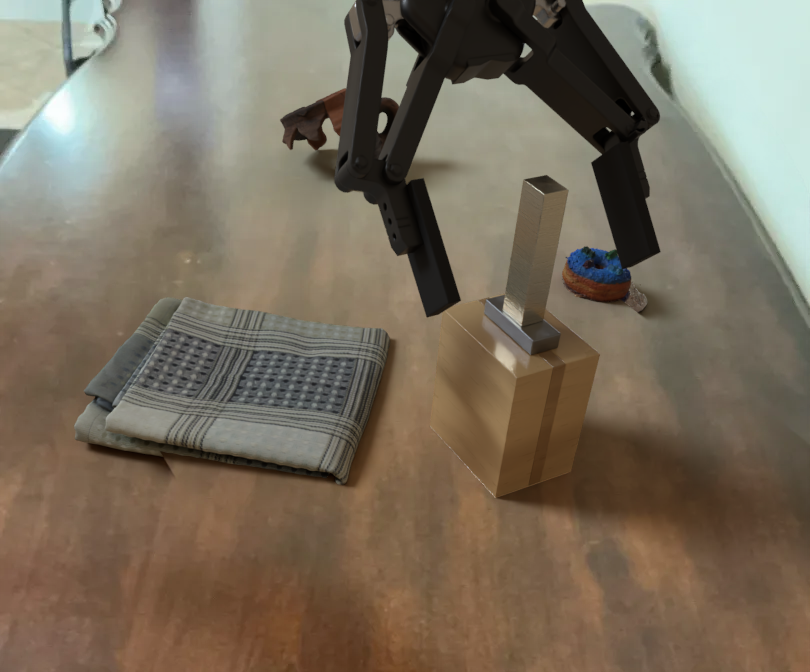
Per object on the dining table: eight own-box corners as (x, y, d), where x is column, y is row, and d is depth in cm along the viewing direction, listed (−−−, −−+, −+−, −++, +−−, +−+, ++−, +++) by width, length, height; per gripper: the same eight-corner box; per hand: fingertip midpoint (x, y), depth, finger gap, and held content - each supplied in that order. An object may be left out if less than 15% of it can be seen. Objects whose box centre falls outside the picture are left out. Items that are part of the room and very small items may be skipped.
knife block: (568, 482, 64) (601, 353, 57) (493, 509, 61) (517, 378, 54) (500, 415, 68) (522, 288, 62) (428, 437, 66) (442, 308, 59)
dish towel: (395, 346, 74) (398, 309, 71) (345, 500, 61) (346, 460, 59) (159, 310, 75) (154, 272, 73) (61, 452, 62) (52, 412, 60)
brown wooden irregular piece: (325, 204, 91) (287, 115, 87) (295, 207, 99) (259, 125, 96) (432, 152, 93) (400, 63, 90) (394, 158, 102) (363, 77, 98)
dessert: (530, 285, 80) (569, 219, 79) (557, 303, 86) (595, 242, 84) (608, 332, 77) (650, 264, 75) (631, 347, 83) (671, 285, 81)
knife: (534, 463, 63) (589, 201, 51) (508, 472, 62) (558, 207, 50) (491, 420, 66) (534, 162, 54) (466, 428, 65) (504, 168, 53)
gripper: (577, -66, 61) (672, 263, 63) (200, -40, 51) (324, 350, 53) (653, -150, 54) (758, 221, 56) (235, -140, 44) (375, 312, 46)
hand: (547, 284), depth 54 cm, fingers open, 13 cm apart
